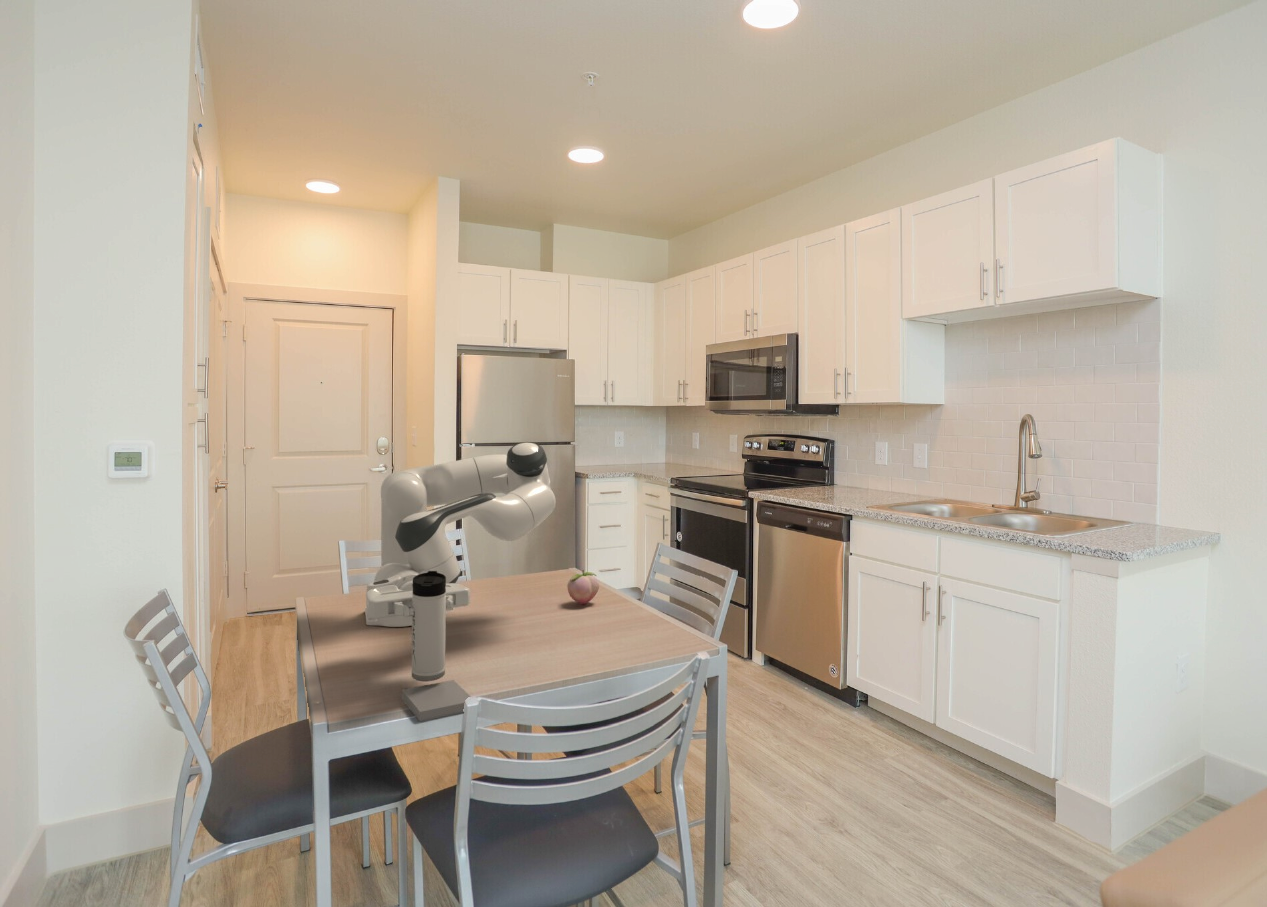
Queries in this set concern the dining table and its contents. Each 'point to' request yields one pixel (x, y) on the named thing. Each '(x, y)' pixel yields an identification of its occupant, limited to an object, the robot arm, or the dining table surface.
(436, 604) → the travel mug
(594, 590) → the decorative fruit
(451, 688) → the tile
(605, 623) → the dining table surface
